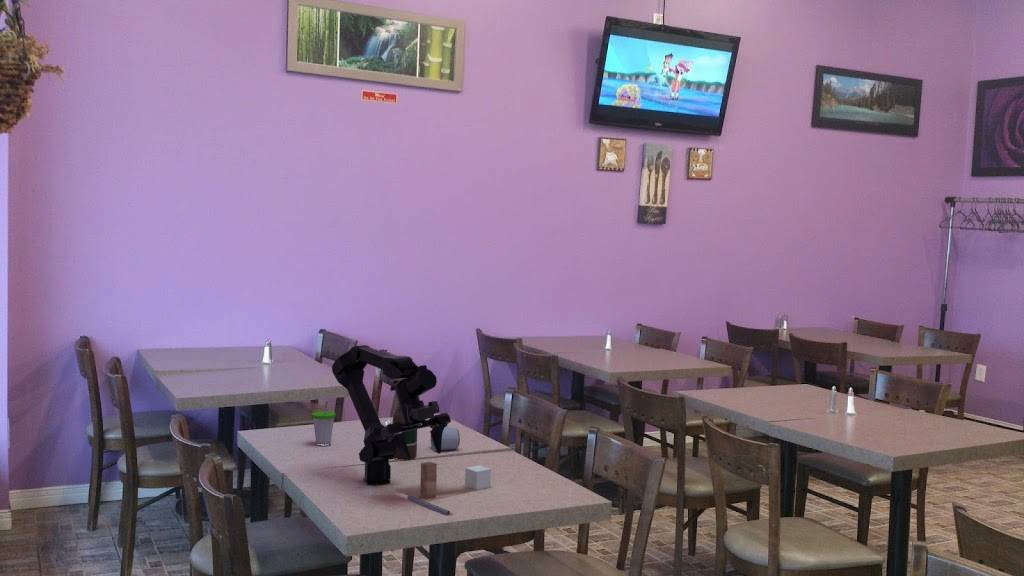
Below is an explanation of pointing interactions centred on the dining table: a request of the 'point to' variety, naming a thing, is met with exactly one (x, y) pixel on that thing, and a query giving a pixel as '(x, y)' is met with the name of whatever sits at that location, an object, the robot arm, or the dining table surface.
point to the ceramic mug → (448, 439)
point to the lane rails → (428, 505)
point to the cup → (323, 425)
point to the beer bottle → (406, 438)
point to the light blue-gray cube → (477, 477)
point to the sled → (429, 484)
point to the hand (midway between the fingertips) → (424, 456)
